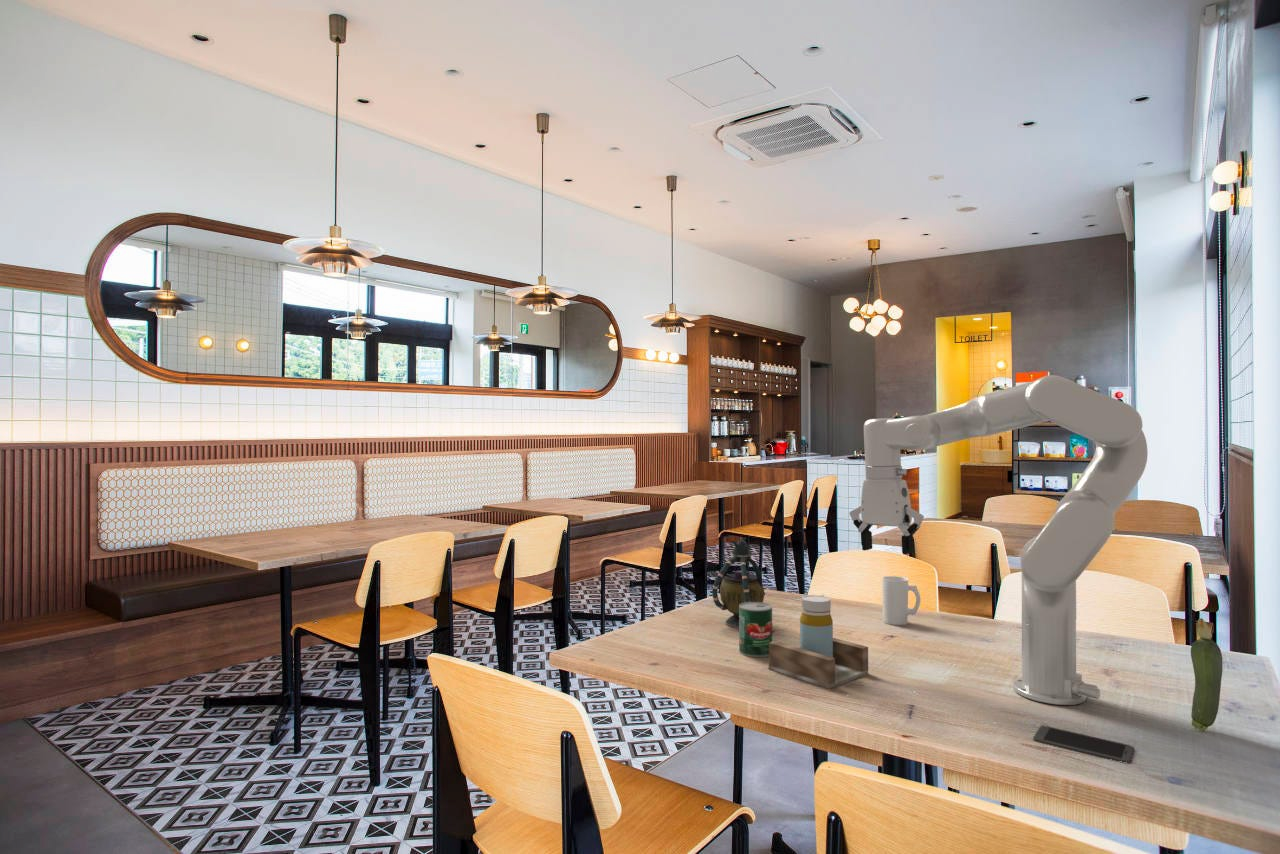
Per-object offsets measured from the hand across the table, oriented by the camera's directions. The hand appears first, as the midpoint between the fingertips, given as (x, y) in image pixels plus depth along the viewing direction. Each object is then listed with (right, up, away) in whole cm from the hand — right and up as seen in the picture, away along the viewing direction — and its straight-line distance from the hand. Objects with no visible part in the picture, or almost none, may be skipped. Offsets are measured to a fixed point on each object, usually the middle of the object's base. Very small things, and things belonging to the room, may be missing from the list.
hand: (886, 551), depth 159 cm
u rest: (-15, -26, -1) cm, 30 cm away
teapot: (-25, -26, +41) cm, 54 cm away
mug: (+17, -26, +37) cm, 48 cm away
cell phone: (+20, -27, -38) cm, 50 cm away
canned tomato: (-27, -26, +13) cm, 40 cm away
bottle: (-16, -26, 0) cm, 30 cm away
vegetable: (+45, -26, -33) cm, 61 cm away
